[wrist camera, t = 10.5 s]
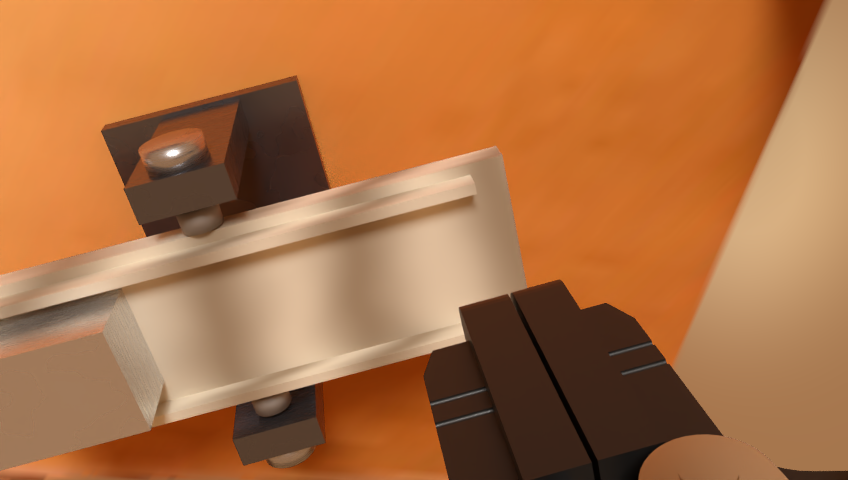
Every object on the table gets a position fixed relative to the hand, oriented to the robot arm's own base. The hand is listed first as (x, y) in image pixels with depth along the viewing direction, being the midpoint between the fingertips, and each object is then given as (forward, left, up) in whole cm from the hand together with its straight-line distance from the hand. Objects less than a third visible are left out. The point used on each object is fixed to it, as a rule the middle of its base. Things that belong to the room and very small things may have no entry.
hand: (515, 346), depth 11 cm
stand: (+9, +10, -31) cm, 34 cm away
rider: (+17, +10, -21) cm, 29 cm away
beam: (+9, +10, -22) cm, 26 cm away
